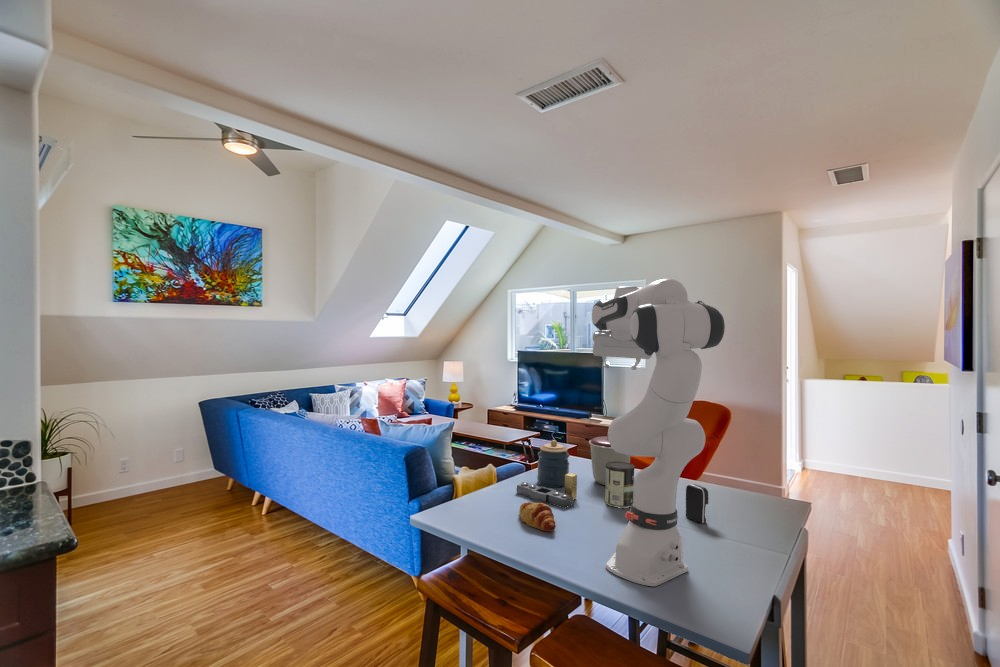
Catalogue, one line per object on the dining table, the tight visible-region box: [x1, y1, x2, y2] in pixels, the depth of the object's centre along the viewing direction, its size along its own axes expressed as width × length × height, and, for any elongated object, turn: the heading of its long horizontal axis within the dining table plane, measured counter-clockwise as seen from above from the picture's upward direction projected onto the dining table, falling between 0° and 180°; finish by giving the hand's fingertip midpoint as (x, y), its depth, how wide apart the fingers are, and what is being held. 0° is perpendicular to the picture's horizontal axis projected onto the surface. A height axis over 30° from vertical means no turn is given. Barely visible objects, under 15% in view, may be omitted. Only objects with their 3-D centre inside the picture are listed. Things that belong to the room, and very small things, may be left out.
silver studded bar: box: [516, 481, 574, 509], centre depth 176 cm, size 7×22×4 cm, turn 48°
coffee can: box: [604, 461, 636, 509], centre depth 173 cm, size 10×10×14 cm
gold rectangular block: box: [563, 472, 578, 500], centre depth 177 cm, size 3×3×9 cm
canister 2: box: [588, 432, 632, 486], centre depth 198 cm, size 18×18×21 cm
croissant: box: [519, 501, 557, 532], centre depth 154 cm, size 21×10×8 cm, turn 25°
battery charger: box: [685, 483, 709, 524], centre depth 159 cm, size 7×4×11 cm, turn 26°
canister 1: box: [536, 439, 571, 488], centre depth 195 cm, size 13×13×18 cm
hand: (620, 368), depth 170 cm, fingers open, 8 cm apart
